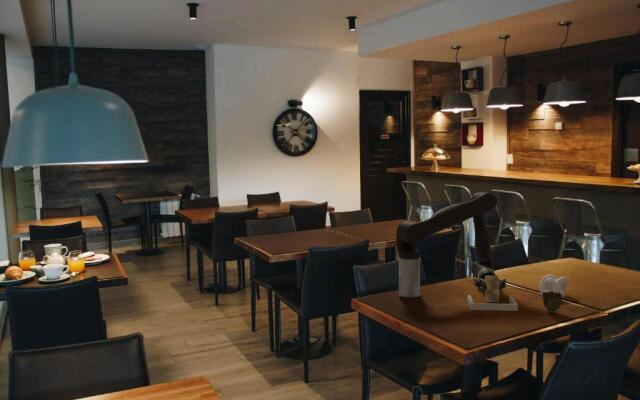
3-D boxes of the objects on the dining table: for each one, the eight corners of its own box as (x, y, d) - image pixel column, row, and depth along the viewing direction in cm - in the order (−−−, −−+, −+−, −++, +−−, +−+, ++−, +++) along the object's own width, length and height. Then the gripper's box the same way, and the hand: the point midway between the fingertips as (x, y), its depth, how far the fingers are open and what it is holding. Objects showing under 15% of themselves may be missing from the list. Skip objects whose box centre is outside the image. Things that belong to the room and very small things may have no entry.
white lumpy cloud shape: (534, 296, 252) (534, 276, 251) (544, 291, 261) (545, 271, 260) (560, 301, 244) (560, 280, 243) (570, 295, 253) (571, 275, 252)
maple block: (486, 302, 239) (486, 278, 238) (485, 298, 244) (485, 275, 243) (499, 302, 238) (499, 278, 237) (497, 298, 243) (497, 275, 242)
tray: (470, 309, 236) (470, 303, 235) (467, 300, 248) (467, 295, 248) (517, 310, 233) (517, 304, 233) (511, 301, 246) (512, 295, 245)
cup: (563, 316, 225) (564, 296, 224) (543, 315, 226) (544, 295, 225) (559, 310, 232) (560, 291, 231) (540, 309, 233) (541, 290, 232)
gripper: (470, 269, 255) (475, 279, 238) (504, 269, 253) (511, 279, 236) (470, 285, 256) (475, 296, 239) (504, 286, 254) (511, 297, 237)
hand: (493, 288), depth 238 cm, fingers closed on maple block, 5 cm apart
